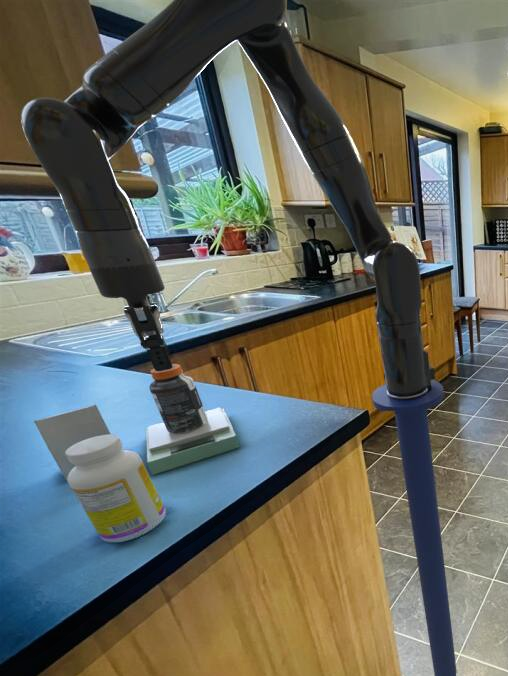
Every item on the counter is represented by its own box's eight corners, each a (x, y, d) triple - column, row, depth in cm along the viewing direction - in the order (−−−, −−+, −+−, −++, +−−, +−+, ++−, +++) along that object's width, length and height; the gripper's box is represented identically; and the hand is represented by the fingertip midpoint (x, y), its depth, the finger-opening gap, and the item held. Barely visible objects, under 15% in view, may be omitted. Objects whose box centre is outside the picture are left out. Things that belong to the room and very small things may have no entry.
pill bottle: (216, 418, 74) (195, 361, 70) (192, 434, 69) (168, 374, 64) (185, 418, 74) (162, 361, 70) (158, 434, 69) (132, 374, 64)
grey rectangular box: (123, 461, 67) (97, 408, 63) (66, 481, 62) (34, 425, 58) (119, 453, 69) (94, 401, 65) (64, 472, 64) (33, 417, 60)
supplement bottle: (140, 506, 57) (101, 427, 51) (180, 511, 56) (144, 431, 50) (87, 542, 51) (36, 457, 45) (130, 548, 50) (83, 462, 44)
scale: (227, 418, 80) (223, 405, 79) (240, 447, 70) (235, 432, 69) (150, 440, 73) (144, 426, 72) (152, 475, 63) (145, 459, 62)
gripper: (155, 263, 57) (195, 368, 64) (153, 256, 67) (187, 347, 74) (83, 269, 53) (133, 381, 59) (91, 260, 63) (134, 357, 69)
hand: (163, 362), depth 67 cm, fingers open, 8 cm apart
